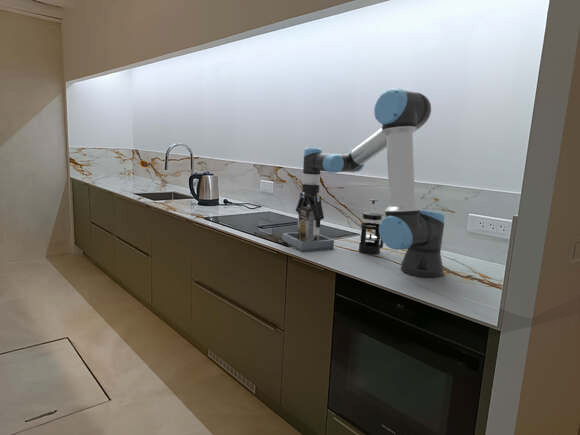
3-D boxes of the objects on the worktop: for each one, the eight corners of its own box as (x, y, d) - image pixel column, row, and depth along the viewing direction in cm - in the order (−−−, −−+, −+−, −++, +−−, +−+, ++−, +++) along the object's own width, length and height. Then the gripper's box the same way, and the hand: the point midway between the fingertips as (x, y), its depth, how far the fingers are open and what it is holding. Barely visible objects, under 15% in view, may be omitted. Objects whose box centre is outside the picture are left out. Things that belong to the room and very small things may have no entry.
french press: (352, 250, 179) (356, 198, 174) (366, 247, 185) (370, 197, 181) (374, 256, 170) (379, 201, 166) (387, 253, 176) (392, 200, 172)
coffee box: (296, 241, 185) (298, 206, 182) (309, 240, 188) (311, 205, 185) (306, 246, 177) (308, 209, 174) (319, 245, 180) (321, 209, 177)
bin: (333, 248, 179) (334, 240, 178) (301, 251, 172) (302, 242, 171) (312, 239, 195) (312, 231, 194) (282, 241, 187) (282, 233, 186)
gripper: (334, 186, 169) (330, 236, 173) (304, 180, 191) (301, 225, 194) (318, 187, 166) (315, 238, 169) (290, 180, 187) (287, 226, 191)
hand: (308, 231), depth 182 cm, fingers open, 13 cm apart
